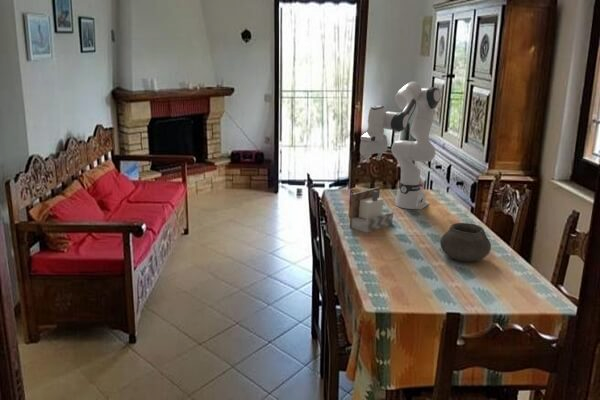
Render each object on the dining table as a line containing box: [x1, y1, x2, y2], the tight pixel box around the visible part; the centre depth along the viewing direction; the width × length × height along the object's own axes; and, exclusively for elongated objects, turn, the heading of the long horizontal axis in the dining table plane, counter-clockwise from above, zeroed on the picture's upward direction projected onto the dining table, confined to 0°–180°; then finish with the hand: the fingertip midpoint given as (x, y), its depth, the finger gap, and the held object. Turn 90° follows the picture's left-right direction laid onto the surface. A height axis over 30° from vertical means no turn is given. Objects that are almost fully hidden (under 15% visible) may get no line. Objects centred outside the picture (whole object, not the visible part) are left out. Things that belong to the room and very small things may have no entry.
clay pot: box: [439, 222, 492, 263], centre depth 233 cm, size 22×21×15 cm
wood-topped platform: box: [349, 186, 394, 234], centre depth 271 cm, size 22×12×18 cm, turn 135°
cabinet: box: [359, 191, 384, 219], centre depth 271 cm, size 12×6×14 cm, turn 134°
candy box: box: [348, 187, 364, 216], centre depth 286 cm, size 9×4×15 cm, turn 39°
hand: (373, 161), depth 281 cm, fingers open, 8 cm apart
